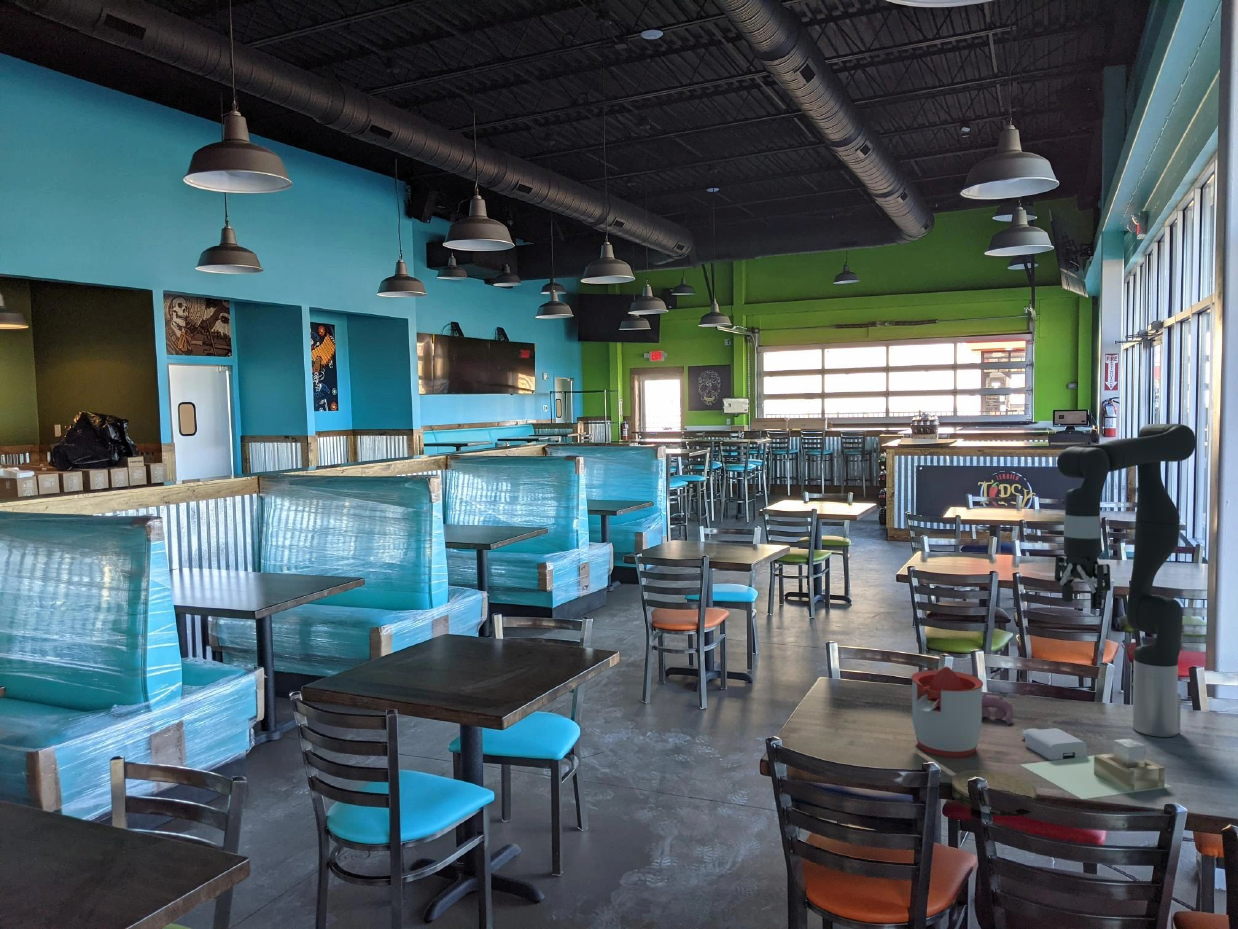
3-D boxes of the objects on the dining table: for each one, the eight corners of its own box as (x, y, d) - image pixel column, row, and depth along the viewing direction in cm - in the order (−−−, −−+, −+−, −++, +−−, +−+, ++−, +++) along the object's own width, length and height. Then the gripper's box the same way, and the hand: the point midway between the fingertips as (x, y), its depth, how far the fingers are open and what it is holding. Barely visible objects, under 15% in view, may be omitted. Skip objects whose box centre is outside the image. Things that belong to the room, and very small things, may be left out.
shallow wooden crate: (1128, 769, 186) (1129, 751, 186) (1164, 786, 177) (1164, 767, 177) (1093, 774, 184) (1094, 755, 184) (1128, 791, 175) (1128, 772, 175)
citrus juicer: (892, 751, 201) (892, 666, 200) (935, 734, 211) (935, 653, 210) (954, 772, 188) (954, 682, 187) (996, 753, 199) (996, 667, 198)
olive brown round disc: (934, 792, 179) (934, 778, 179) (990, 778, 186) (990, 764, 186) (996, 824, 165) (997, 809, 165) (1055, 807, 171) (1055, 792, 171)
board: (1104, 758, 195) (1104, 754, 195) (1172, 791, 177) (1172, 786, 177) (1020, 769, 189) (1020, 764, 189) (1081, 804, 172) (1082, 799, 172)
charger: (1043, 738, 208) (1087, 762, 194) (1008, 741, 207) (1050, 765, 192) (1043, 719, 208) (1087, 741, 193) (1008, 721, 206) (1050, 744, 192)
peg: (1129, 775, 183) (1129, 738, 182) (1144, 783, 179) (1144, 745, 179) (1113, 777, 182) (1113, 740, 182) (1128, 785, 178) (1128, 747, 178)
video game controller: (1013, 727, 220) (1014, 699, 222) (1011, 724, 216) (1012, 696, 218) (971, 721, 224) (973, 694, 227) (969, 718, 221) (971, 690, 223)
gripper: (1120, 538, 191) (1119, 610, 191) (1072, 530, 204) (1072, 598, 205) (1092, 539, 189) (1091, 612, 190) (1045, 531, 203) (1045, 600, 203)
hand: (1081, 605), depth 197 cm, fingers open, 8 cm apart
